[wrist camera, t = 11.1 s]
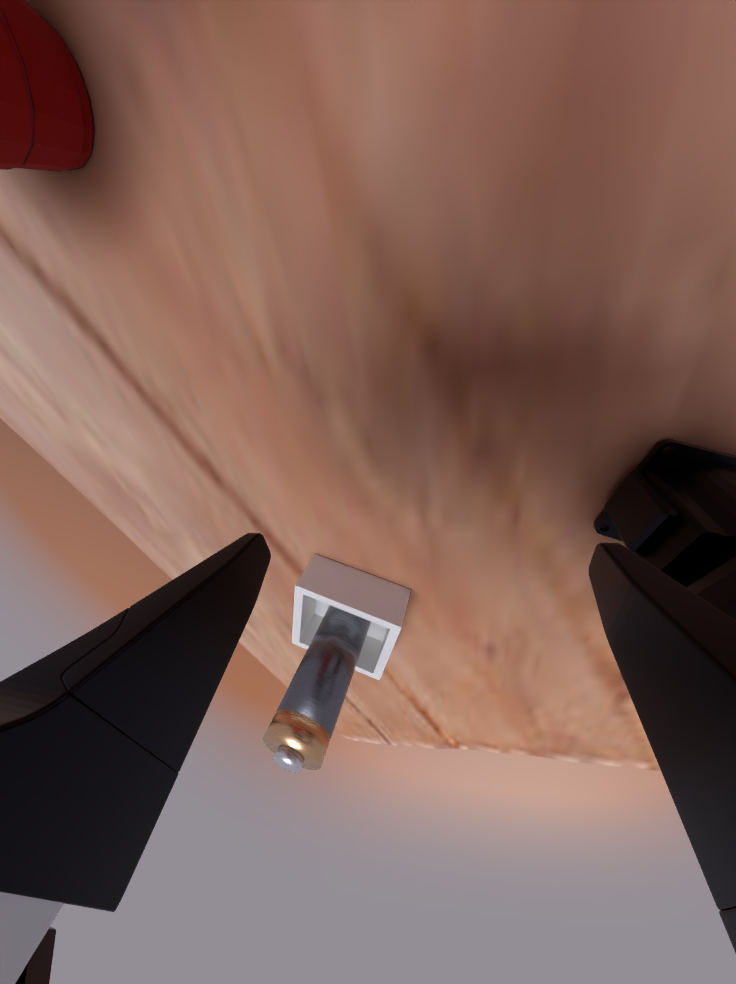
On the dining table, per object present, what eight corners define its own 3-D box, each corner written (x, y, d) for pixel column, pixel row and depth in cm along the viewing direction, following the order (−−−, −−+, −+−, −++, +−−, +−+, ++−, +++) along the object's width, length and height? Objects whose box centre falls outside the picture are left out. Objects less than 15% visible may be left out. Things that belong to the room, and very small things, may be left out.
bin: (411, 589, 29) (401, 627, 25) (389, 643, 34) (379, 680, 31) (315, 553, 30) (295, 585, 27) (309, 611, 36) (292, 643, 33)
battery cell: (367, 591, 30) (301, 756, 19) (379, 622, 32) (325, 788, 21) (327, 589, 32) (246, 741, 21) (341, 619, 34) (273, 771, 23)
